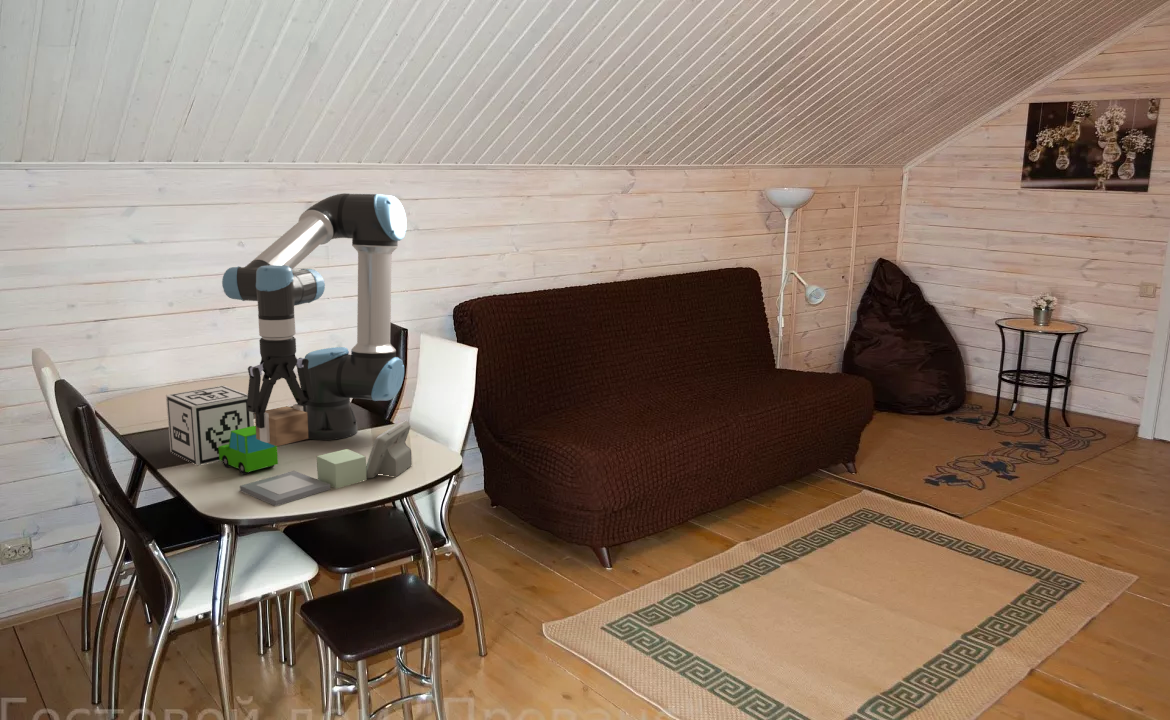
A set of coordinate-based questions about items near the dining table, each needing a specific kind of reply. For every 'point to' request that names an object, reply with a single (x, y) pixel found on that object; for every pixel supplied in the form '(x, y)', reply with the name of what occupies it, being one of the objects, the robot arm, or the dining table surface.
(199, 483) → the dining table surface
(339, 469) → the green block
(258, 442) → the toy car
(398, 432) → the digital clock
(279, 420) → the walnut block
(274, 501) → the plate
